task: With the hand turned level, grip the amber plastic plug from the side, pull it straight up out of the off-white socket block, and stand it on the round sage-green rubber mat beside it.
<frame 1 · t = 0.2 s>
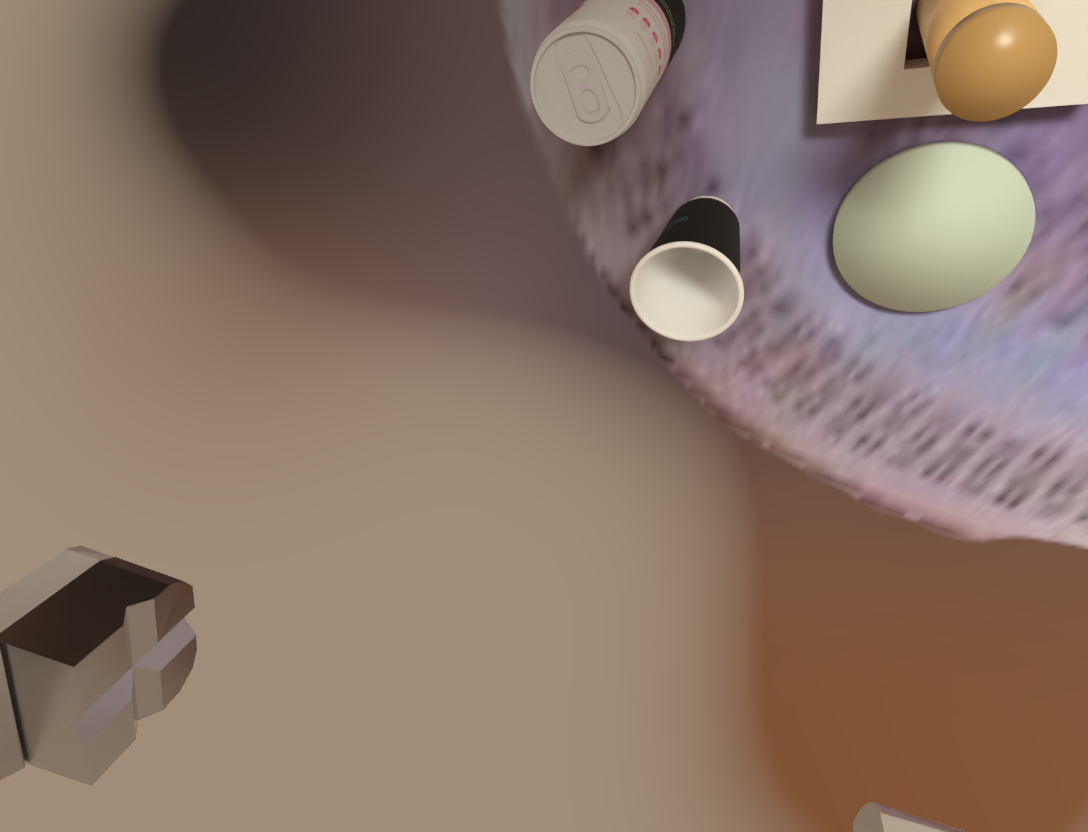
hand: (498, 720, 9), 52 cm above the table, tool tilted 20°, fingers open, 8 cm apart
dixie cup: (706, 222, 59), on the table
beverage can: (639, 19, 51), on the table
socket block: (962, 2, 44), on the table
mat: (927, 229, 54), on the table
plug: (976, 31, 40), in the socket block
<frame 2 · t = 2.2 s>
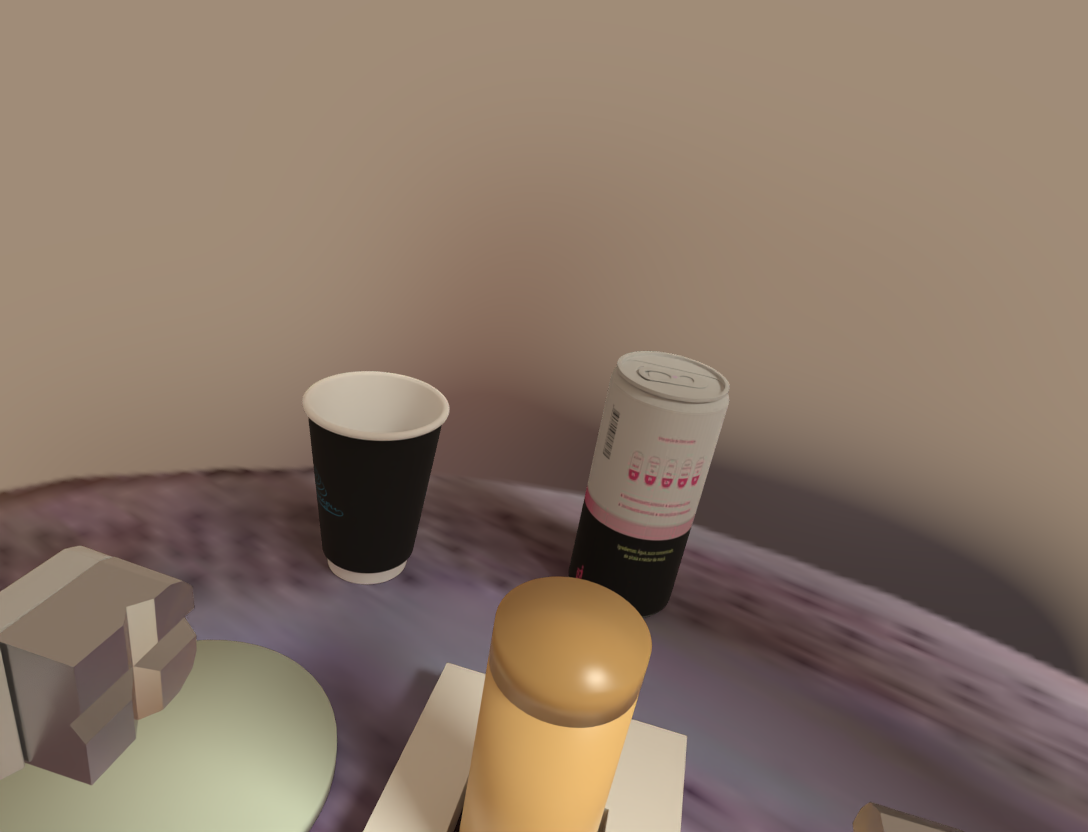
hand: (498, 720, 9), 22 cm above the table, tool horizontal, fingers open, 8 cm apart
dixie cup: (367, 561, 45), on the table
beverage can: (617, 589, 47), on the table
mat: (177, 769, 31), on the table
plug: (540, 771, 26), in the socket block
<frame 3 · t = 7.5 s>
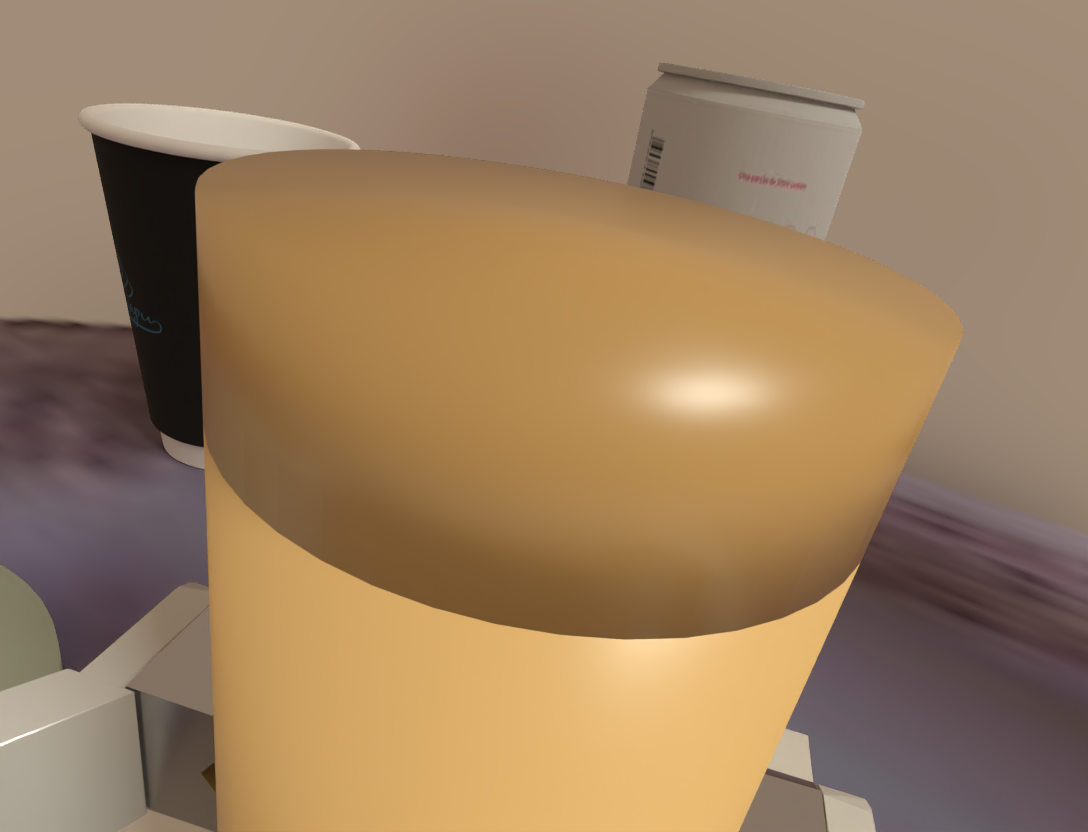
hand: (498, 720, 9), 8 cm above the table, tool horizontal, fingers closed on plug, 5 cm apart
dixie cup: (234, 442, 27), on the table
beverage can: (644, 500, 29), on the table
plug: (465, 830, 8), in the socket block, touching gripper
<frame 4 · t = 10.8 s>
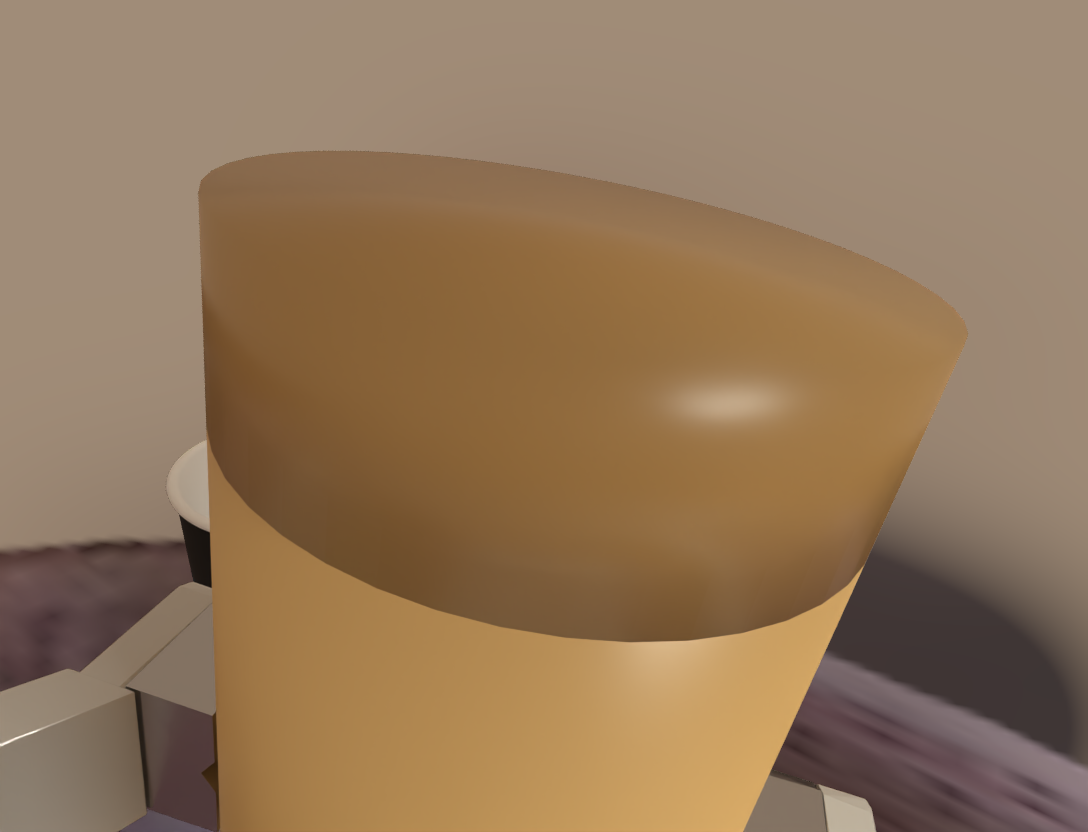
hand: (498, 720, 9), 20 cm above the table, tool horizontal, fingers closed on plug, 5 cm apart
dixie cup: (281, 684, 33), on the table
when the fingers open (10 cm above the table, at t = 14.2 s): plug drops 1 cm, resting on mat.
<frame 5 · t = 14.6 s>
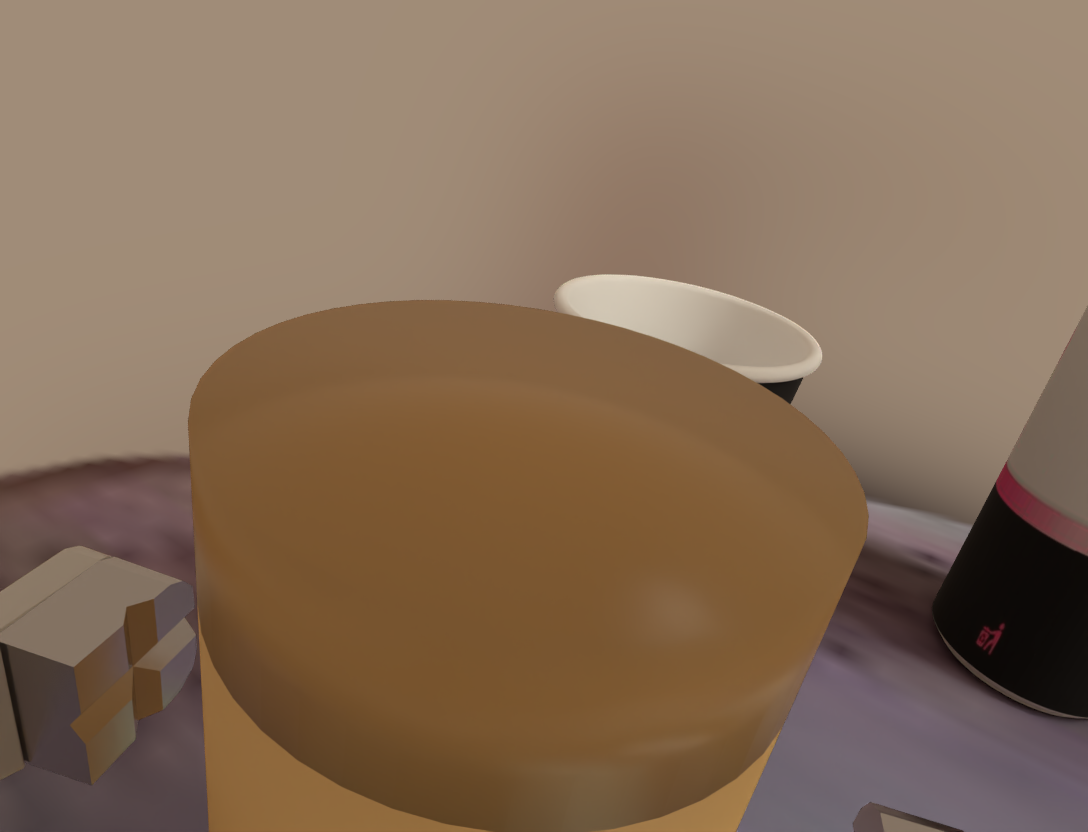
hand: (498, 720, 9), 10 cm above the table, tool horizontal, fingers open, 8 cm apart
dixie cup: (608, 607, 26), on the table
beverage can: (1016, 660, 28), on the table
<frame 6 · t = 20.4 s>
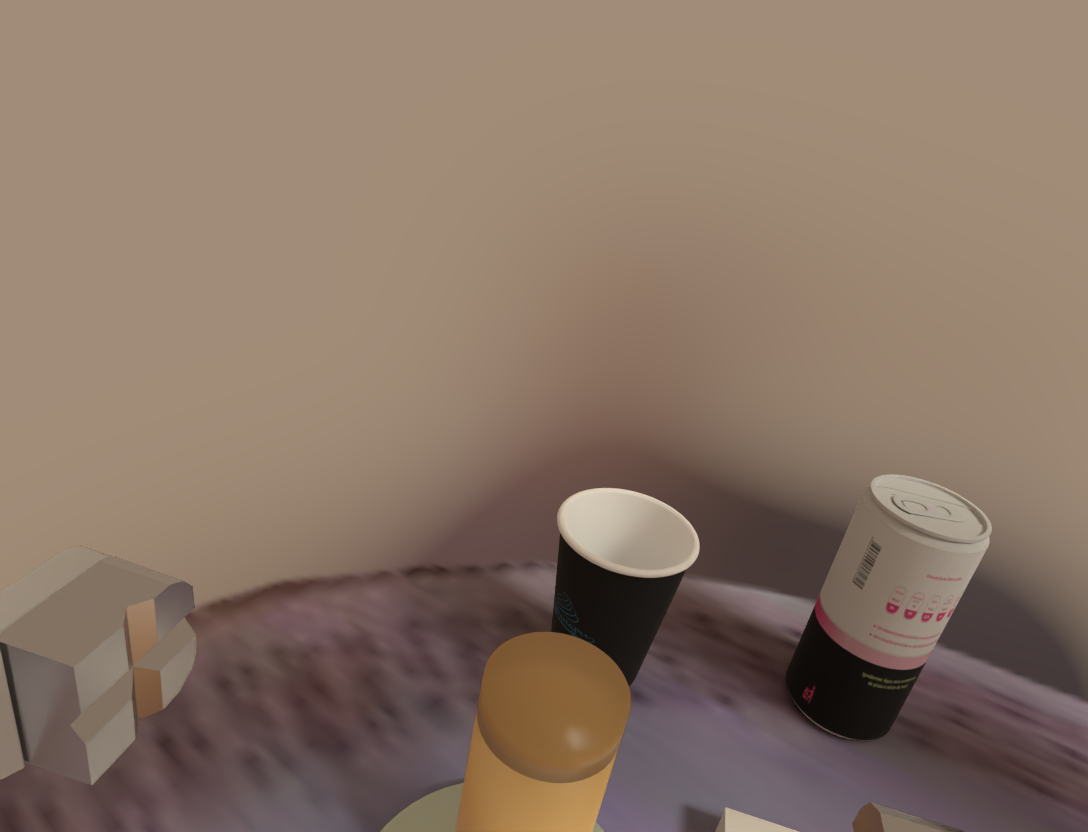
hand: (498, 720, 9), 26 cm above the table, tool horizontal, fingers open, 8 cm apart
dixie cup: (589, 675, 45), on the table
beverage can: (834, 704, 46), on the table
plug: (525, 816, 27), on the mat, point 8 cm above the table
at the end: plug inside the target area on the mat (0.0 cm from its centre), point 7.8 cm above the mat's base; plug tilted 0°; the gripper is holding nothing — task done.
